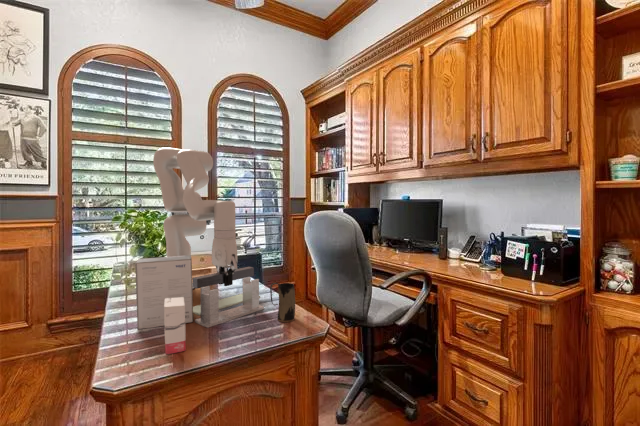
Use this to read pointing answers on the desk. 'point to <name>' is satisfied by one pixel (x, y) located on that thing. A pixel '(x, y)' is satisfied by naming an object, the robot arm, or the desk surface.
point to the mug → (285, 302)
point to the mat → (223, 303)
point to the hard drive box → (162, 288)
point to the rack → (214, 317)
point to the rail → (221, 277)
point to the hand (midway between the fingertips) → (225, 284)
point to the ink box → (174, 325)
